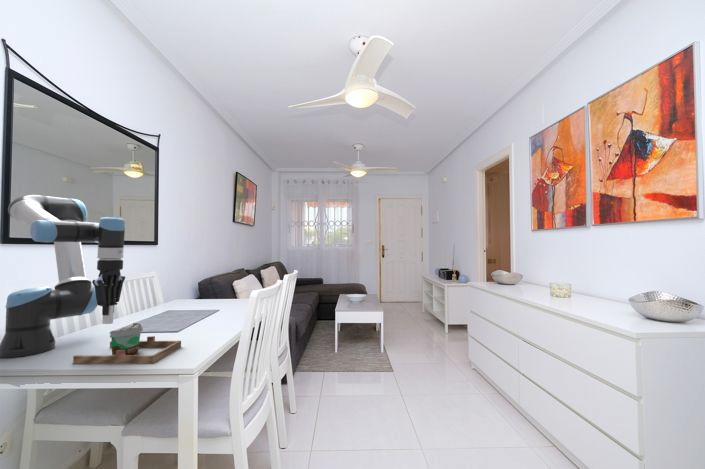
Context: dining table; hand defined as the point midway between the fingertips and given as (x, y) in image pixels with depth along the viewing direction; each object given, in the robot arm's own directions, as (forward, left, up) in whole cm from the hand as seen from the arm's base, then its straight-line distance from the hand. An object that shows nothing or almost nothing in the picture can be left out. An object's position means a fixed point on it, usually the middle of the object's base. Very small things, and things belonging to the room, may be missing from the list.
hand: (107, 323), depth 113 cm
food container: (+8, +3, -12) cm, 14 cm away
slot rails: (+8, +3, -11) cm, 14 cm away
